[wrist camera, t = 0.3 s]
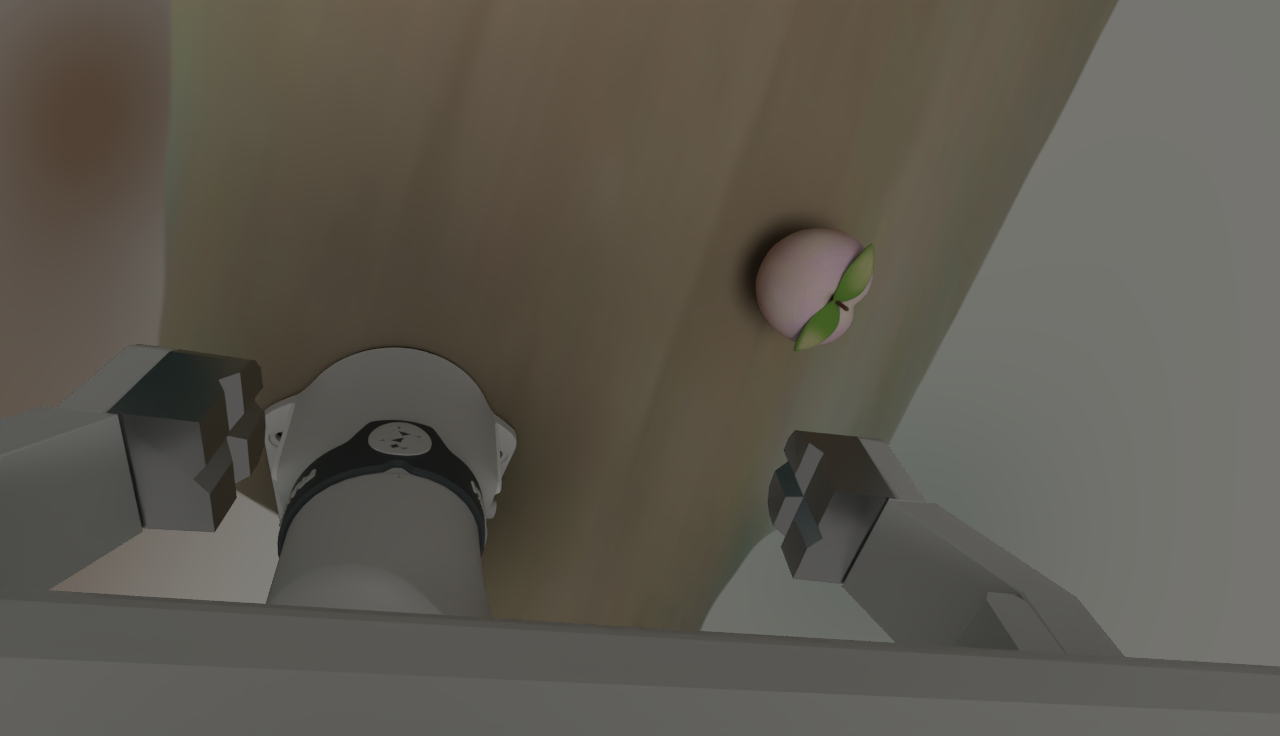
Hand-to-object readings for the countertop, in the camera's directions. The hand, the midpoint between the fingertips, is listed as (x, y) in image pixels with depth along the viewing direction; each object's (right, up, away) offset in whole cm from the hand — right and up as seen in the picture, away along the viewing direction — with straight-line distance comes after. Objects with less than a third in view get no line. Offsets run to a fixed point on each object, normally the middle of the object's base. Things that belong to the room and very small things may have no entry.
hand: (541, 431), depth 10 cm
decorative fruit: (+13, +10, +45) cm, 48 cm away
